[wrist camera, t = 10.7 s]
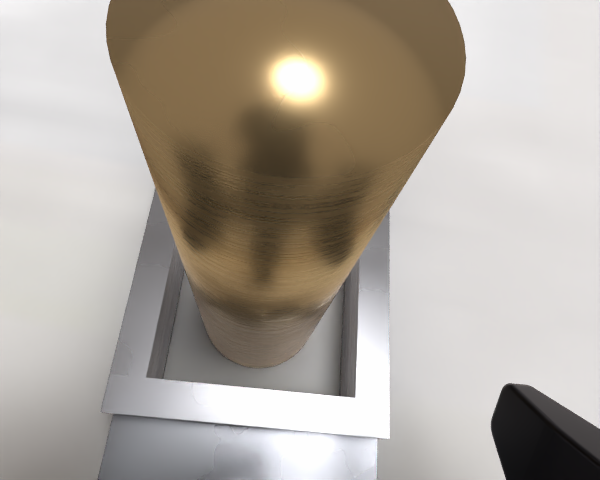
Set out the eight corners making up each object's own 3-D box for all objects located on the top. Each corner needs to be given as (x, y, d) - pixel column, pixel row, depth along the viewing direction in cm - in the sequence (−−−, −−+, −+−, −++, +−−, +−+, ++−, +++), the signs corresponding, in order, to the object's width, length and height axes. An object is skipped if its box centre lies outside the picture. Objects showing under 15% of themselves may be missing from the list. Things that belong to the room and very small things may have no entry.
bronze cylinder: (297, 382, 16) (440, 229, 4) (186, 348, 16) (32, 106, 4) (326, 277, 17) (482, -36, 6) (225, 247, 17) (189, -123, 6)
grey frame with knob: (363, 673, 13) (399, 746, 10) (68, 657, 12) (10, 728, 9) (374, 74, 22) (395, 15, 19) (206, 49, 21) (199, -15, 18)
